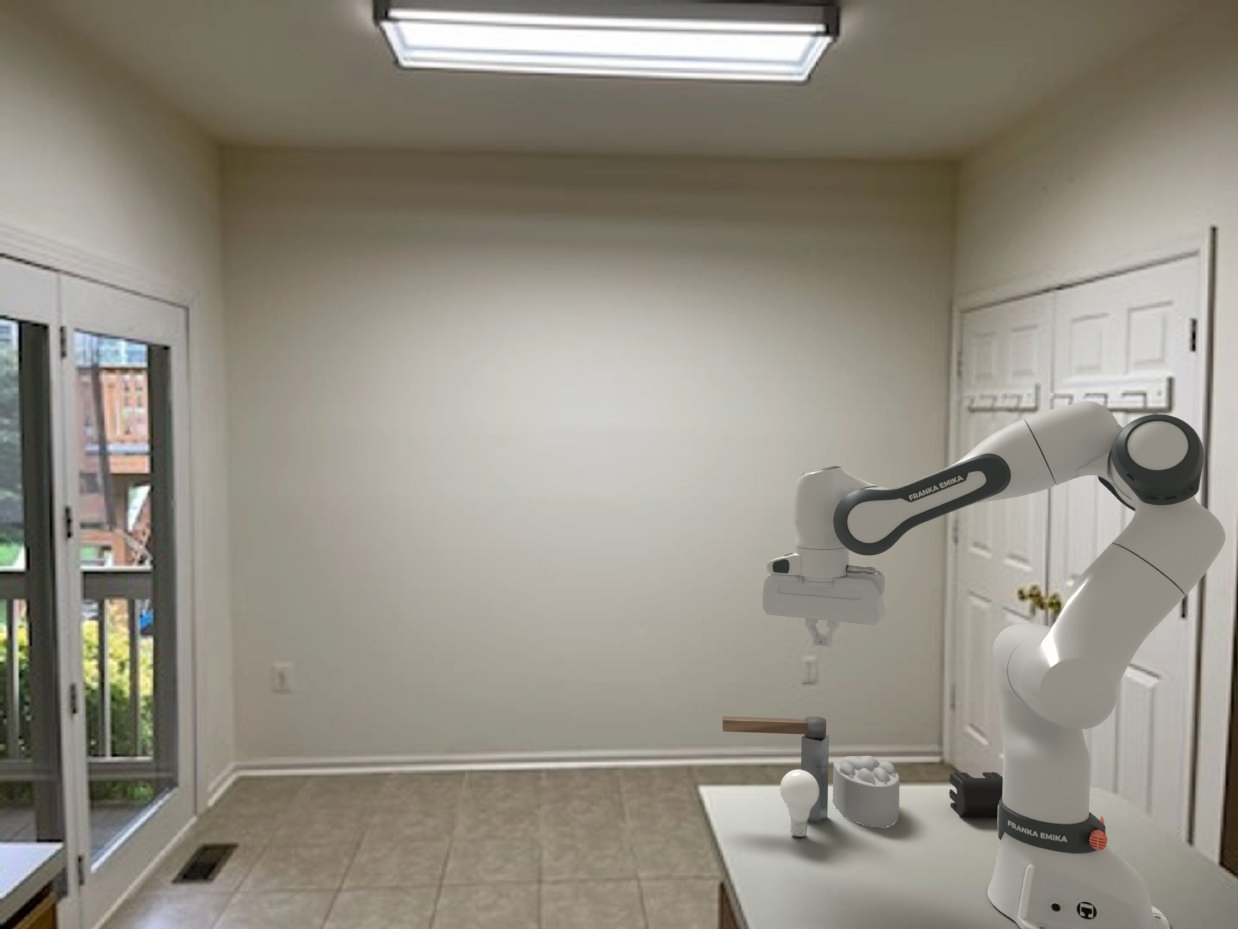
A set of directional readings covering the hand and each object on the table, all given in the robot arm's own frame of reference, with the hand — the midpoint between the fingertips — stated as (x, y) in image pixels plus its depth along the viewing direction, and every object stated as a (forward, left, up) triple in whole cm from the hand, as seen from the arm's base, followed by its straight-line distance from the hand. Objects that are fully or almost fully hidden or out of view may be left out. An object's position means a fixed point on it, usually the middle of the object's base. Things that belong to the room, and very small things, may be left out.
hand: (822, 646), depth 142 cm
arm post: (+3, -4, -31) cm, 32 cm away
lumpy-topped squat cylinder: (-4, -12, -32) cm, 34 cm away
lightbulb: (+2, +4, -32) cm, 32 cm away
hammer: (+9, -1, -17) cm, 19 cm away
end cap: (-21, -23, -32) cm, 45 cm away
